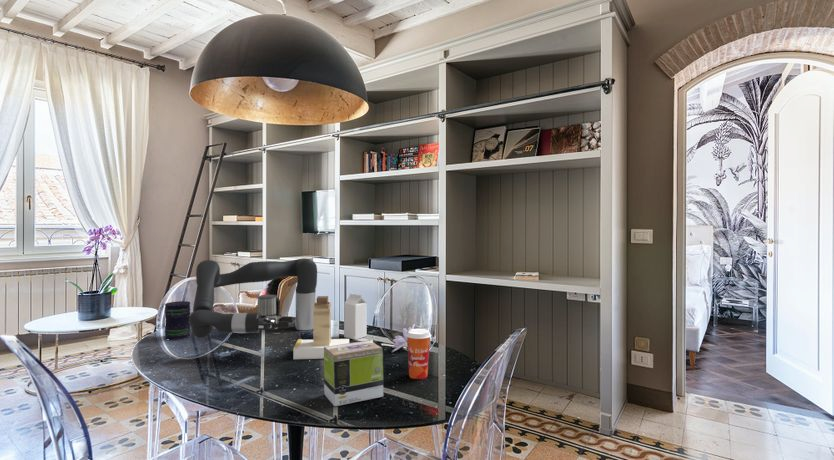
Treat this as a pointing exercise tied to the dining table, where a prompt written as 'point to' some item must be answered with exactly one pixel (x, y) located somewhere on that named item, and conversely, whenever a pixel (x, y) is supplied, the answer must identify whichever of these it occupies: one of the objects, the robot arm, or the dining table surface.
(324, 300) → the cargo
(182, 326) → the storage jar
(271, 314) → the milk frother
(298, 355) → the white flat box
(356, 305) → the milk carton
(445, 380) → the dining table surface
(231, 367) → the dining table surface
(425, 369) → the coffee cup
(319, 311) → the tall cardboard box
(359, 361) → the tea box
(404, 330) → the water lily
